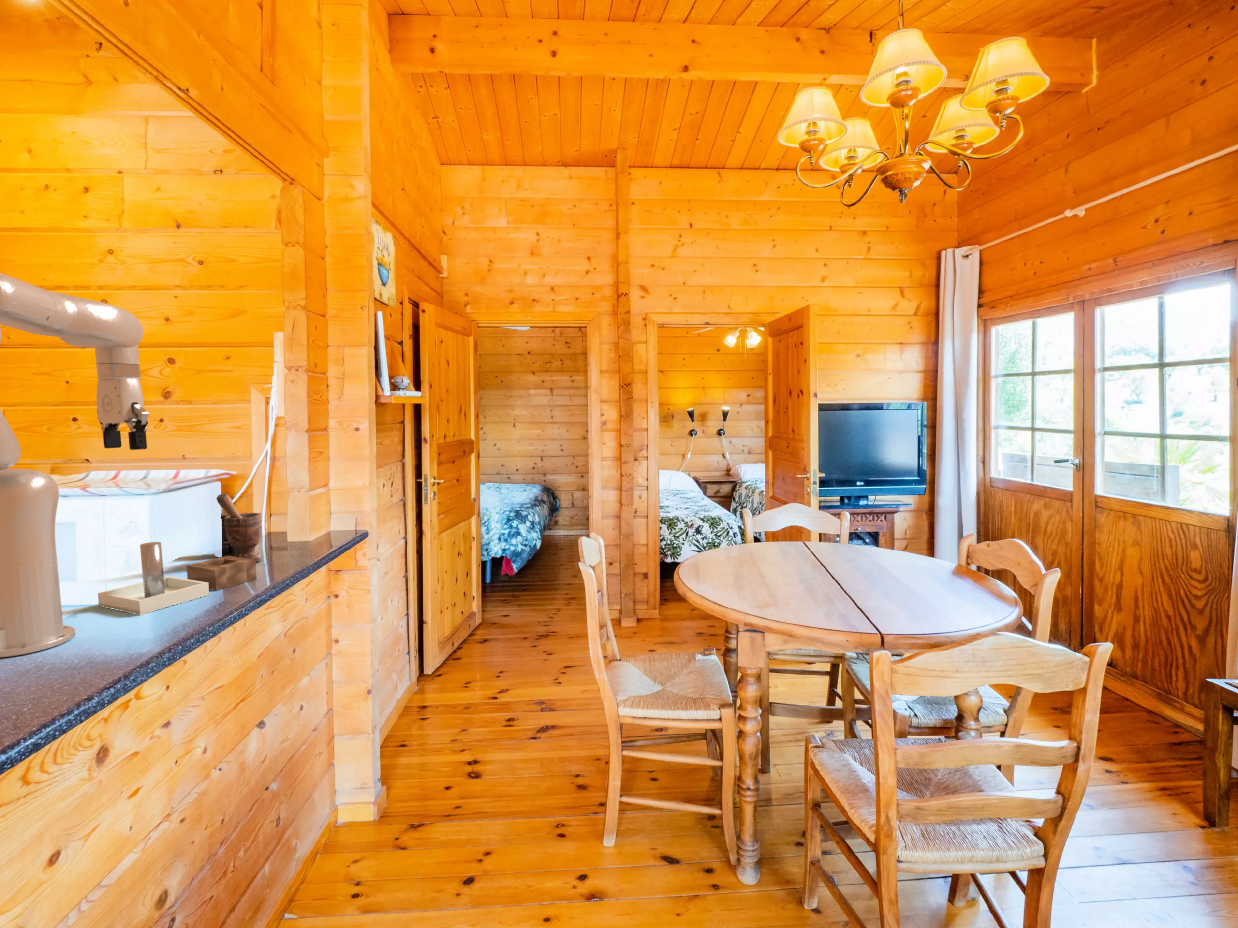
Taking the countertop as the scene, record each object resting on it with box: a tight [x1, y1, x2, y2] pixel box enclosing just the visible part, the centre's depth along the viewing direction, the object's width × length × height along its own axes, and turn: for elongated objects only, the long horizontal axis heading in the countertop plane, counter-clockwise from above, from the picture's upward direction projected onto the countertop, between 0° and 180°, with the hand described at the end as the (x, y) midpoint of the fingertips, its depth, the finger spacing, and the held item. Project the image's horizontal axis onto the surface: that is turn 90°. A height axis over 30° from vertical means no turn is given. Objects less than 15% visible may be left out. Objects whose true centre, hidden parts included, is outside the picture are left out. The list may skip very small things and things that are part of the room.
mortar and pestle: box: [216, 493, 263, 563], centre depth 162 cm, size 12×9×20 cm
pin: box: [139, 541, 165, 598], centre depth 131 cm, size 4×4×12 cm
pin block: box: [186, 556, 257, 591], centre depth 145 cm, size 10×10×5 cm
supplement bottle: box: [220, 512, 236, 557], centre depth 172 cm, size 7×7×12 cm
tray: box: [97, 575, 210, 616], centre depth 131 cm, size 14×14×3 cm
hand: (125, 448), depth 136 cm, fingers open, 9 cm apart
